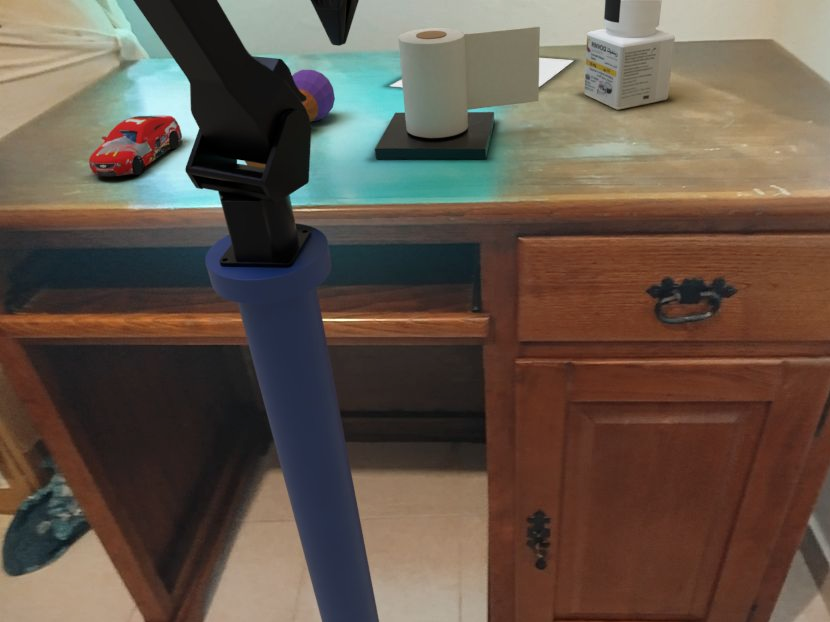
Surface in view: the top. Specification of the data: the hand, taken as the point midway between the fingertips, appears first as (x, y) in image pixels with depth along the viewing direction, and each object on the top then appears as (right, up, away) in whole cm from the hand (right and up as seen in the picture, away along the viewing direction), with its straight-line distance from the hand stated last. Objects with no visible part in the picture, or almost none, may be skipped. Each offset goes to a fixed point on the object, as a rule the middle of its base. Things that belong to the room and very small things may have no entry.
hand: (338, 44), depth 67 cm
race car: (-25, -7, +15) cm, 30 cm away
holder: (+9, -4, +16) cm, 18 cm away
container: (+32, +4, +25) cm, 41 cm away
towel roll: (+12, -2, +16) cm, 20 cm away
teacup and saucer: (+14, +11, +37) cm, 41 cm away
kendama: (-8, -4, +18) cm, 20 cm away
